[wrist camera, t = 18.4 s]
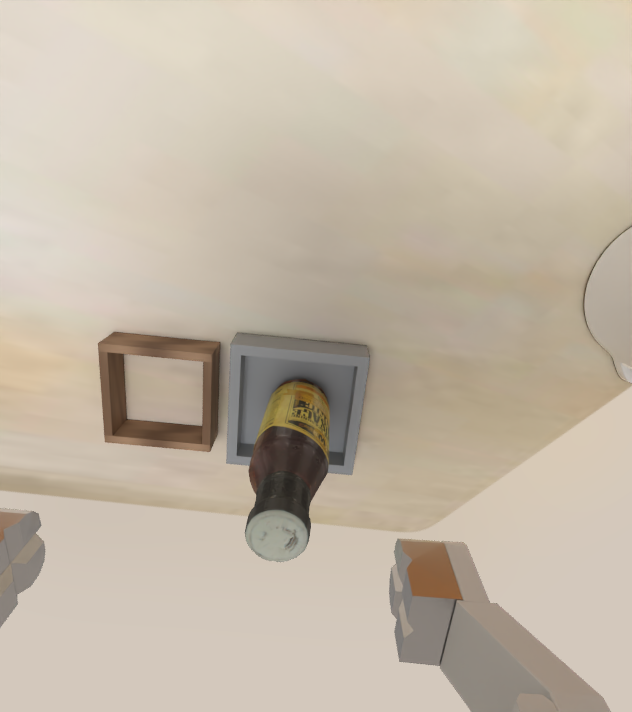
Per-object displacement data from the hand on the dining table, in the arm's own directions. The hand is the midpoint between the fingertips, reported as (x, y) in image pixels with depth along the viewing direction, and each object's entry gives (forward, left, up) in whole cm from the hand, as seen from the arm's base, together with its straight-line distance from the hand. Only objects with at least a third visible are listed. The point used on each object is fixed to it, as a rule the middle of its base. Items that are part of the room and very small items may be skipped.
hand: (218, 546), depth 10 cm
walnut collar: (+12, +13, -35) cm, 39 cm away
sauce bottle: (-1, +13, -34) cm, 37 cm away
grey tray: (-1, +13, -35) cm, 37 cm away
